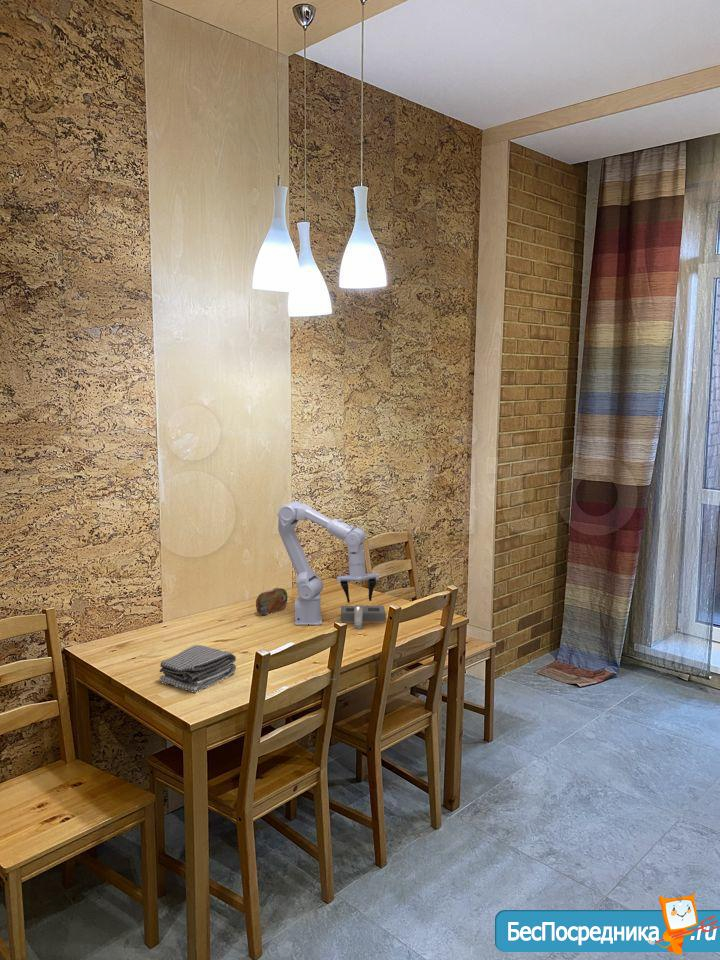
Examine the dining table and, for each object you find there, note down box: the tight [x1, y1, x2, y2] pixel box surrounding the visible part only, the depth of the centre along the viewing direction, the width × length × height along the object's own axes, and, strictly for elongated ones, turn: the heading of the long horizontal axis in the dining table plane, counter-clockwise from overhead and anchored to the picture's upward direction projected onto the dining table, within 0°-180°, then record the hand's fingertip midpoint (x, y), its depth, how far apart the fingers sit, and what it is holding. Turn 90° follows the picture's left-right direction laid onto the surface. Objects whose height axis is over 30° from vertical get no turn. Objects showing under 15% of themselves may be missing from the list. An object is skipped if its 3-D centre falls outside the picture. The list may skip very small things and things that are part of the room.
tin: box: [255, 587, 289, 616], centre depth 284 cm, size 15×3×8 cm, turn 143°
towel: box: [159, 644, 237, 693], centre depth 222 cm, size 15×18×8 cm
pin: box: [353, 604, 364, 630], centre depth 266 cm, size 3×3×8 cm
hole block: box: [340, 605, 387, 624], centre depth 276 cm, size 16×9×4 cm, turn 92°
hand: (359, 601), depth 266 cm, fingers open, 7 cm apart
